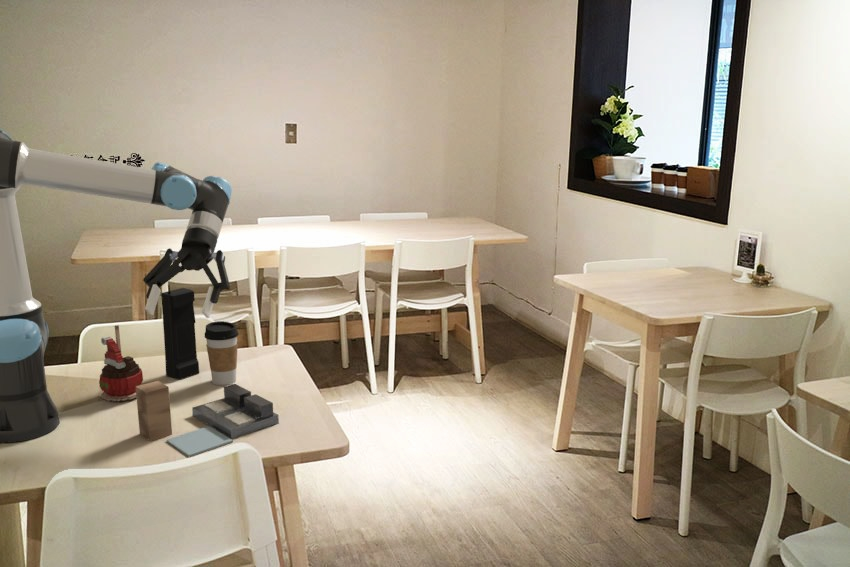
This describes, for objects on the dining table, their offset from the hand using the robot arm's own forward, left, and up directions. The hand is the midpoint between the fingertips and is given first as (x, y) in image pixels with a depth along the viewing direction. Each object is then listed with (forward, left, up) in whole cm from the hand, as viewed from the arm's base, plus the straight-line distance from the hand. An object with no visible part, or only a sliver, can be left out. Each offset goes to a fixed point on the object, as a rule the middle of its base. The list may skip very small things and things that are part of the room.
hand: (176, 313), depth 171 cm
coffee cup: (-12, +17, -24) cm, 32 cm away
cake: (-20, -6, -24) cm, 32 cm away
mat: (+16, -5, -24) cm, 29 cm away
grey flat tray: (+11, +7, -24) cm, 27 cm away
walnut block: (+6, -10, -24) cm, 27 cm away
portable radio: (-24, +12, -24) cm, 37 cm away
